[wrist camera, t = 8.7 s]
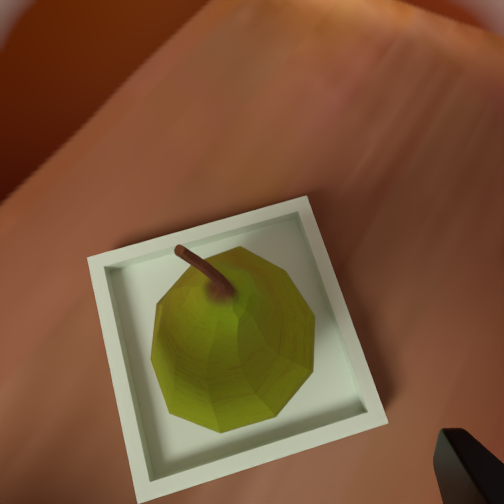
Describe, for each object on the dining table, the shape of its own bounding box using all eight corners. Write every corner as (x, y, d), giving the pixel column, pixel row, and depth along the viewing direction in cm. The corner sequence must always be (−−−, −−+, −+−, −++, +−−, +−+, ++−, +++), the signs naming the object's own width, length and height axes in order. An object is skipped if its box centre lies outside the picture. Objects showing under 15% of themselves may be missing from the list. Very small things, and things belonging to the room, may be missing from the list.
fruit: (279, 448, 19) (313, 543, 7) (139, 390, 19) (-34, 393, 8) (328, 301, 20) (421, 187, 9) (198, 252, 21) (126, 89, 10)
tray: (379, 420, 20) (388, 423, 18) (147, 495, 19) (137, 504, 17) (303, 207, 22) (306, 195, 21) (98, 266, 22) (87, 257, 20)
